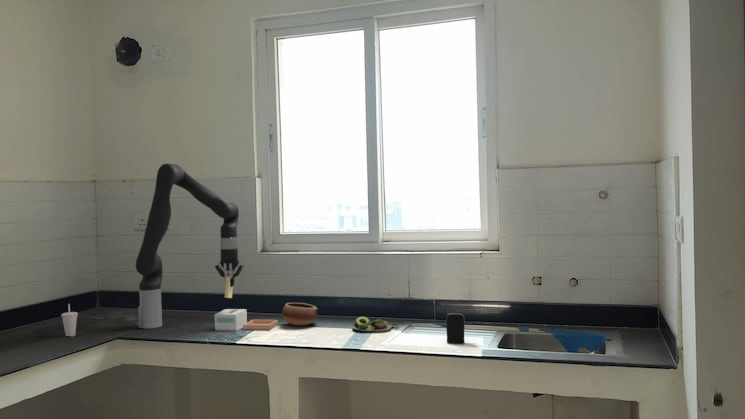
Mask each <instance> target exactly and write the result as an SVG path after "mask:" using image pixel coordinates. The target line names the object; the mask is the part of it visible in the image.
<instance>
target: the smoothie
mask: <svg viewBox="0 0 745 419" xmlns="http://www.w3.org/2000/svg"><path fill="white" fill-rule="evenodd" d="M67 306H68V312H63V313H61V316H60V317H61V318H62V323H63V330H64V334H65V337H66V336H71V337H75V336H76V333H77V332H76V330H77V322H78V321H77V320H78V315H79V313H78V312H76V311H71V306H70V303H68V305H67Z"/></svg>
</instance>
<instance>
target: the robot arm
mask: <svg viewBox="0 0 745 419" xmlns="http://www.w3.org/2000/svg"><path fill="white" fill-rule="evenodd" d="M174 185H175V186H177V187H180V188H182V189H183V190H185V191H187V192H188V193H189V194H190V195H191V196H192V197H193V198H194V199H196V201H198V202H199V203H201V204H202V205H203V206H205V207H207V208H209V209H210V210H211V211H212V212H213V213H214V214H215V215H217V217H219V218H221V219H223V224H221V226H220V241H219V245H220V246H219V247H220V248H219V250H220V261H219V263H218V264H217V265H214V268H215V270H216V271H217V272H218V274H219V275H220V277H221V278H224V280H225V282H224V283H225V285H226V277H230V278H231V279H230V286H231V287H234V286H235V278H237V277H239V276H240V273H241V272H242V270H243V269H244V267H245V266H244V264H241V263H240V261H239V250H238V249H239V245H238V244H239V243H238V230H237V229H238V228H237V227H238V222H239V213H240V211H239V207H238V206H237V204H235V203H234V202H226V201H225V200H224V199H222V198H221V196H220V195H219V194H218V193H216V192H214V191H213V190H211V189H210V188H209V187H206V185H203V184H202V183H200V182H198V181H197V179H196V178H193V177H192V176H191V175H190V174H188V173H187V172H186V170H184V169H183V168H182V167H181V166H179V165H178V164H174V163H163V164H161V166H160V167H159V168H158V170H157V173H156V179H155V187H154V193H153V199H152V201H151V206H150V211H149V214H148V216H147V217H148V218H147V223H146V227H145V230H144V234H143V240H142V243H141V247H140V249H139V253H138V254H137V258H136V261H135V269H136V273H138V274H139V275H141V276H142V279H141V281H140V282H139V285H138V286H139V290H138V292H139V306H138V307H137V314H138V315H137V316H138V328H141V329H147V330H148V329H157V328H161V327H162V326H163V314H162V313H163V311H162V310H163V309H162V308H163V307H162V305H163V304H162V282H163V260H162V257H160V255H159V254H158V249H159V246H160V244H161V242H162V240H163V238H164V236H165V235H166V234H167V231H168V228H169V225H170V221H171V217H172V207H171V206H172V205H171V193H172V189H173V186H174ZM225 285H224V286H225Z"/></svg>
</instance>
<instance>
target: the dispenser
mask: <svg viewBox="0 0 745 419" xmlns="http://www.w3.org/2000/svg"><path fill="white" fill-rule="evenodd" d="M247 311H248V310H247V309H244V308H239V309H238V308H225V309H222V310H221V311H219V312H217V313H214V330H215V331H229V332H230V331H237V332H238V331H239V330H240V329H242V328H243V325H244V324H246V323H247V322H248V319H247V318H248V316H247V314H248V313H247Z"/></svg>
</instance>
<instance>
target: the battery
mask: <svg viewBox="0 0 745 419" xmlns="http://www.w3.org/2000/svg"><path fill="white" fill-rule="evenodd" d="M465 323H466V322H465V315H464V314H463V313H462V312H461V313H460V312H451V313H450V312H449V313H447V315H446V318H445V326H446V327H445V329H446V343H448V344H459V345H460V344H465Z"/></svg>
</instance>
